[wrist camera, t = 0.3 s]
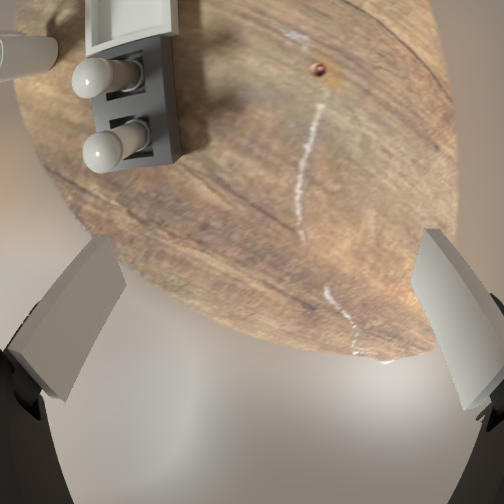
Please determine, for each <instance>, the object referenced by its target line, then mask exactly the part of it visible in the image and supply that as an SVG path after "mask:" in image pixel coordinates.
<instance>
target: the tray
mask: <svg viewBox="0 0 504 504" xmlns="http://www.w3.org/2000/svg"><path fill="white" fill-rule="evenodd" d="M176 35H179V25H178V0H85V43H86V56H92V55H95V54H98V53H101V52H104V51H107V50H110V49H113V48H116V47H119V46H122V45H126V44H129V43H133V42H136V41H140V40H144V39H148V38H152V37H156V36H162V37H165V38H166V37H170V36H176Z"/></svg>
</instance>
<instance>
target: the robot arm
mask: <svg viewBox="0 0 504 504" xmlns="http://www.w3.org/2000/svg"><path fill="white" fill-rule="evenodd" d="M410 284H411V286H412V288H413V290H414V292H415V294H416V296H417V298H418V300H419V302H420V304H421V306H422V308H423V310H424V312H425V314H426V316H427V318H428V321H429V323H430V325H431V327H432V329H433V332H434V334H435V336H436V339H437V341H438V343H439V345H440V348H441V350H442V353H443V355H444V358H445V360H446V363H447V365H448V368H449V370H450V373H451V376H452V378H453V381H454V384H455V387H456V390H457V392H458V396H459V399H460V402H461V405H462V408H463V410H464V411H465V410H468V409H471V408H474V407H477V406H480V405H481V404H482V403H483V402H484V401H485V399H487V398H488V397H489V396H490V398H491V401H492V402H491V403H490V404H489V405H488V406H487V407H486V408H485V409H484V410H483V411H482V412H481V413H480V414H479V415H478V416H477V418H476V420H477V421H478V420H479V419H480V418H481V417H482V416H484V415H485V417H484V419H483V420H482V426H481V429H480V432H479V435H478V438H477V441H476V443H475V446H474V448H473V451H472V453H471V456H470V458H469V461H468V463H467V465H466V467H465V470H464V472H463V474H462V476H461V478H460V480H459V483H458V485H457V487H456V489H455V491H454V493H453V495H452V496H451V498H450V500H449V502H448V504H504V305H503V304H502V302H501V301H500V300H499V299H497V298H496V297H495V296H494V295H493V294H492V293H490V294H489V293H488V291H487V290H486V288H485V287H484V285H483V284H482V282H481V281H480V280H479V278H478V277H477V276H476V274H475V273H474V272H473V270H472V269H471V268H470V266H469V265H468V264H467V262H466V261H465V260H464V258H463V257H462V256H461V255H460V253H459V252H458V251H457V250H456V248H455V247H454V246H453V245H452V243H451V242H450V241H449V240H448V239H447V237H446V236H445V235H444V234H443V233H442V232H441V230H440V229H424V233H423V237H422V241H421V245H420V249H419V253H418V256H417V260H416V264H415V267H414V270H413V274H412V277H411V280H410ZM125 287H126V283H125V280H124V277H123V275H122V272H121V269H120V266H119V264H118V261H117V258H116V255H115V252H114V249H113V246H112V243H111V240H110V237H109V235H95V236H94V237H93V238H92V240H91V241H90V242H89V243H88V244H87V245H86V246H85V247H84V248H83V250H82V251H81V252H80V253H79V254H78V255H77V257H76V258H75V259H74V260H73V261H72V262H71V263H70V265H69V266H68V267H67V268H66V269H65V270H64V272H63V273H62V274H61V275H60V277H59V278H58V279H57V280H56V282H55V283H54V284H53V285H52V287H51V288H50V289H49V290H48V292H47V293H46V294H45V296H44V297H43V298H42V300H40V301H39V302H38V303H37V304H36V305H35V306H34V307H33V309H32V310H31V311H30V313H29V316H27V317H26V319H25V320H24V321H23V324H21V325H20V327H19V328H18V330H17V331H16V333H15V334H14V336H13V337H12V339H11V341H10V342H9V344H8V345H7V346H6V348H5V349H4V351H3V352H2V350H1V349H0V504H74V503H73V500H72V498H71V495H70V493H69V490H68V488H67V485H66V482H65V479H64V476H63V473H62V471H61V467H60V464H59V461H58V458H57V455H56V451H55V448H54V444H53V440H52V437H51V432H50V428H49V423H48V419H47V414H46V409H45V404H44V400H43V397H42V396H41V395H40V392H41V390H42V389H43V390H44V391H45V392H46V393H47V394H48V395H49V396H50V397H51V398H53V399H55V400H58V401H61V402H63V403H65V402H66V400H67V398H68V396H69V393H70V391H71V389H72V387H73V385H74V383H75V381H76V378H77V376H78V374H79V372H80V370H81V368H82V366H83V364H84V362H85V360H86V358H87V356H88V354H89V352H90V350H91V348H92V346H93V344H94V342H95V340H96V339H97V337H98V335H99V333H100V331H101V329H102V327H103V325H104V324H105V322H106V320H107V318H108V316H109V315H110V313H111V311H112V309H113V307H114V306H115V304H116V302H117V300H118V299H119V297H120V295H121V294H122V292H123V290H124V289H125Z"/></svg>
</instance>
